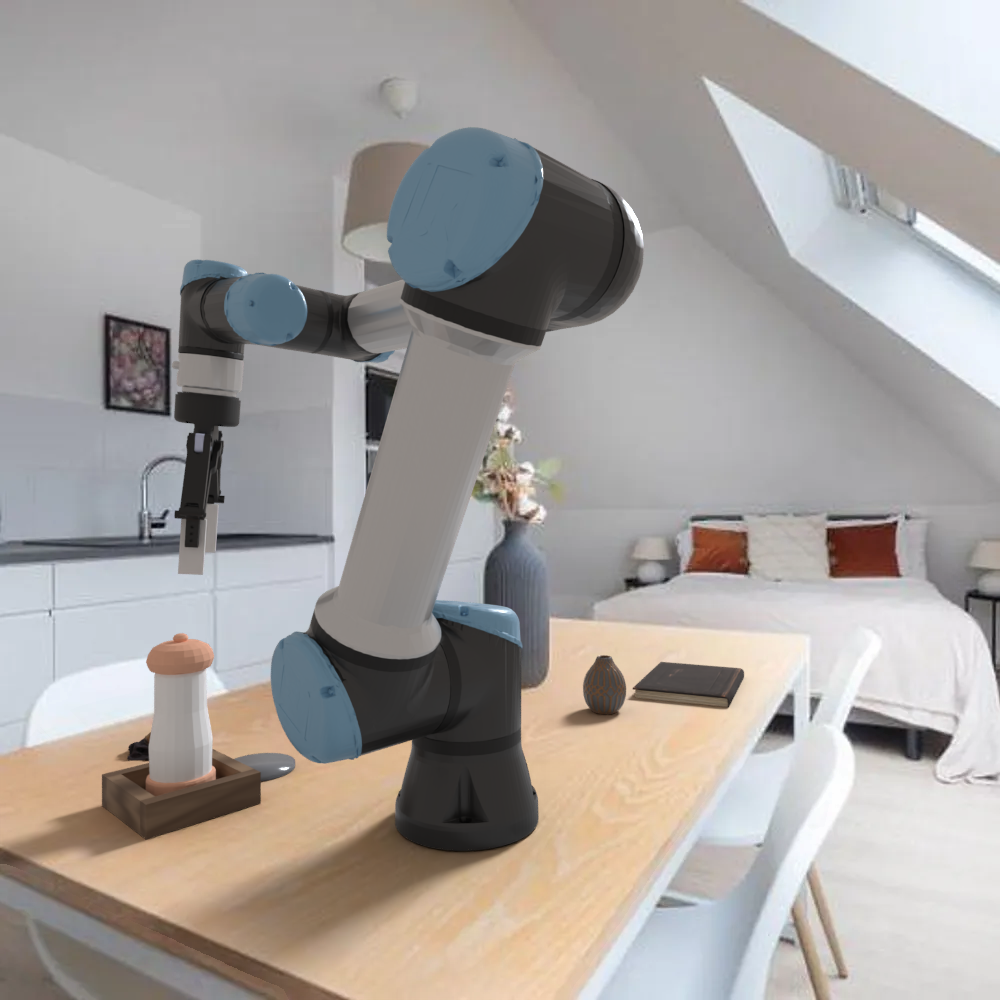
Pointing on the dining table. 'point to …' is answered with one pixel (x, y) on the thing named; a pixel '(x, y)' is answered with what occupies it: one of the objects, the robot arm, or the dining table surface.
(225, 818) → the dining table surface
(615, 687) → the vase
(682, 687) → the hardcover book
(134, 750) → the brown and black lump
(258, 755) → the slate coaster
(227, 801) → the walnut frame
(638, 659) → the dining table surface
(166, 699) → the pepper shaker
